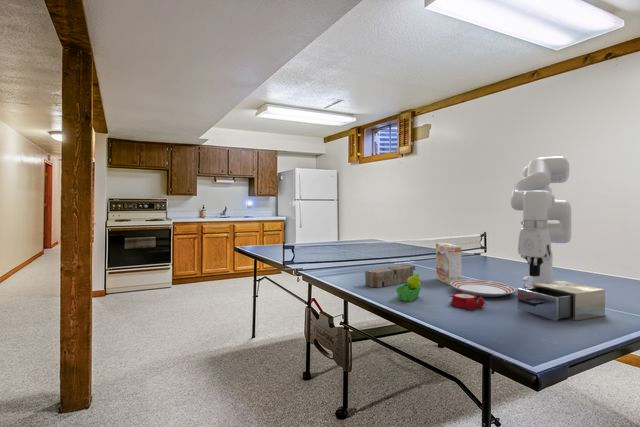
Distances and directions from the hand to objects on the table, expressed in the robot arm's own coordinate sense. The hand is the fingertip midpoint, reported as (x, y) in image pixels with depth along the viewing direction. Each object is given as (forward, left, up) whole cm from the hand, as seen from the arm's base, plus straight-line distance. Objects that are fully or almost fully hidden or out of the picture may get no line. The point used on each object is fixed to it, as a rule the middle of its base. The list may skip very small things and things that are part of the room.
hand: (534, 275), depth 130 cm
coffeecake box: (-59, +11, -15) cm, 62 cm away
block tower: (-68, -18, -15) cm, 72 cm away
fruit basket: (-38, -27, -15) cm, 49 cm away
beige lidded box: (0, +17, -15) cm, 23 cm away
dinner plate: (-35, +10, -15) cm, 40 cm away
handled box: (0, +6, -14) cm, 15 cm away
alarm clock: (-20, -12, -15) cm, 28 cm away
